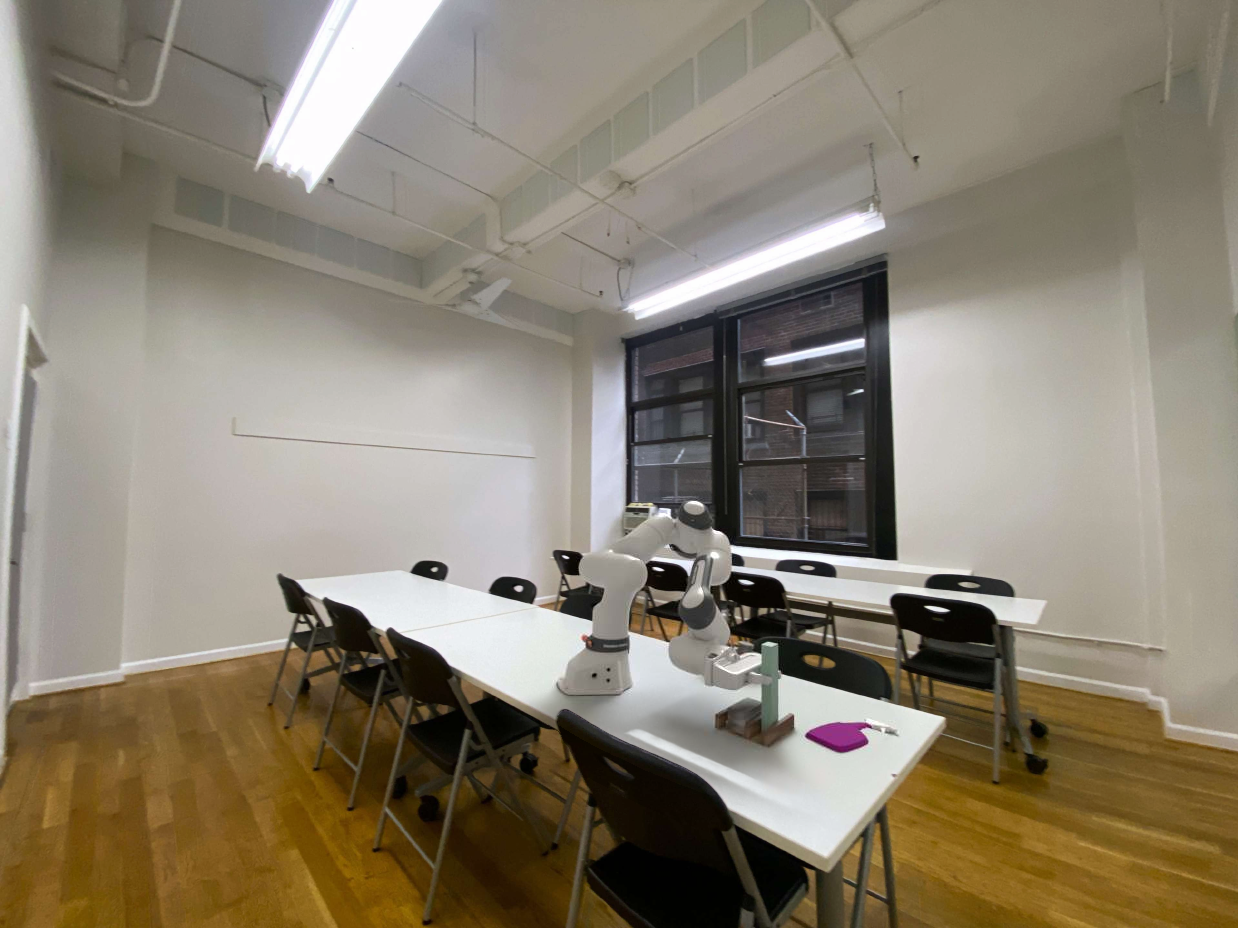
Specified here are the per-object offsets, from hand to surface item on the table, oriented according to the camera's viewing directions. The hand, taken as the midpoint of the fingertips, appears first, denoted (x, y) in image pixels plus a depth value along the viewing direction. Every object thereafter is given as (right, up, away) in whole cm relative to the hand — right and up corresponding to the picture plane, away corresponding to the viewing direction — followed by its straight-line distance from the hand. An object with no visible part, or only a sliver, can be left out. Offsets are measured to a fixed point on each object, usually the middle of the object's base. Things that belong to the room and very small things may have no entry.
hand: (775, 678), depth 114 cm
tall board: (-1, -13, 0) cm, 13 cm away
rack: (-5, -14, +3) cm, 15 cm away
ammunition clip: (-3, -18, +45) cm, 49 cm away
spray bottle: (+19, -16, +1) cm, 24 cm away
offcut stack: (-6, -13, +4) cm, 15 cm away
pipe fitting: (+5, -19, +45) cm, 49 cm away
